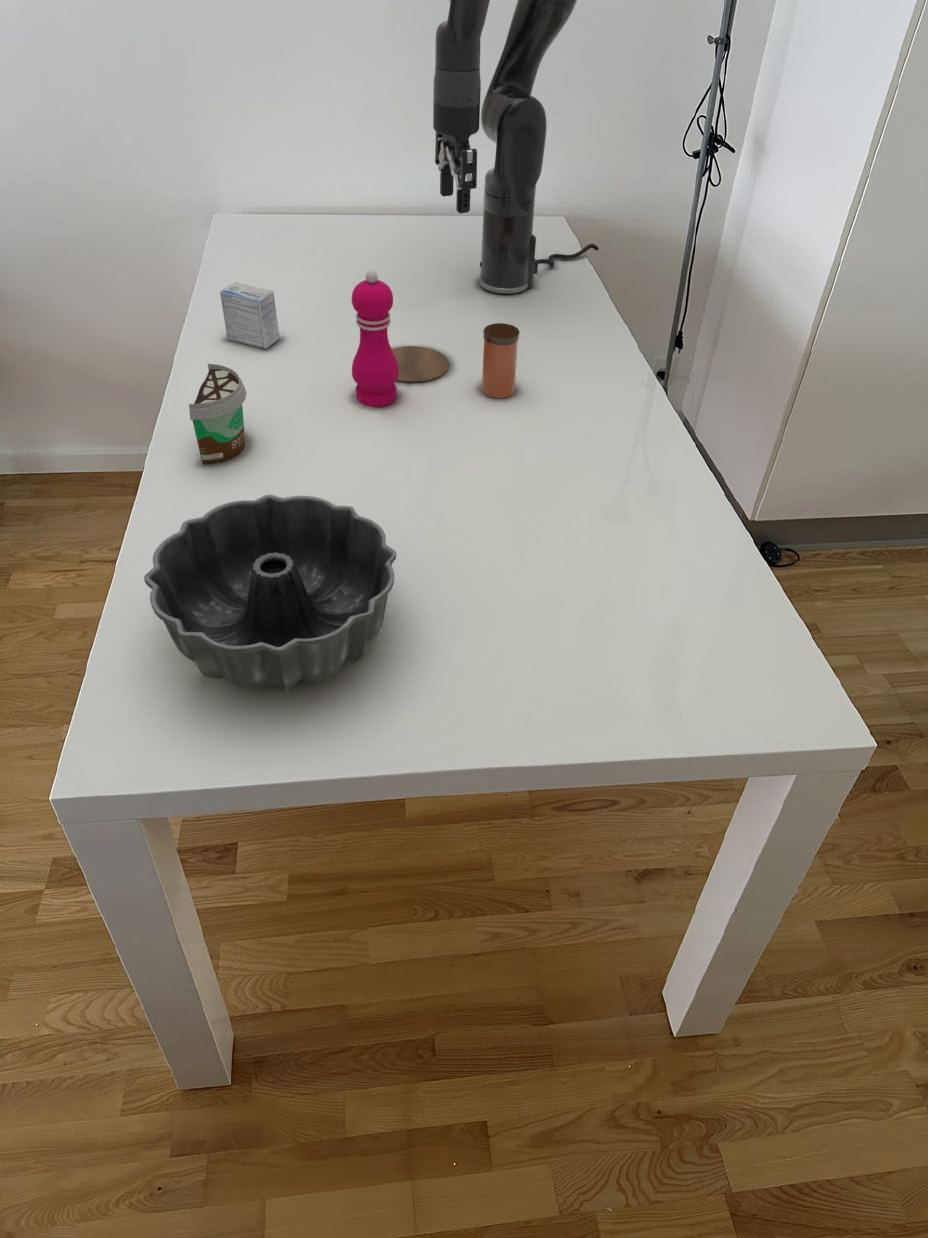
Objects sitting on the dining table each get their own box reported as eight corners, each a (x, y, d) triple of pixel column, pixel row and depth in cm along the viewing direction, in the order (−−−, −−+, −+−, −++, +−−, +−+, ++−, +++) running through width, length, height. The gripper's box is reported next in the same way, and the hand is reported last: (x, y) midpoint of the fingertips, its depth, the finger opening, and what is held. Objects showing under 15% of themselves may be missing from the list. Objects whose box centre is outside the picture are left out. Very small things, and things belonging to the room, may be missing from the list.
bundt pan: (219, 543, 116) (206, 477, 110) (422, 575, 113) (422, 509, 106) (120, 694, 97) (97, 625, 91) (360, 738, 94) (355, 670, 87)
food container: (244, 471, 128) (234, 407, 121) (200, 470, 128) (187, 406, 121) (260, 425, 137) (252, 363, 130) (219, 423, 137) (208, 361, 130)
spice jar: (506, 379, 150) (510, 320, 143) (520, 395, 146) (525, 336, 139) (475, 384, 148) (478, 325, 141) (488, 401, 144) (491, 341, 138)
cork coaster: (434, 343, 158) (434, 341, 158) (459, 376, 150) (459, 374, 150) (367, 354, 155) (366, 351, 154) (389, 387, 147) (389, 385, 146)
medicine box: (280, 339, 158) (274, 290, 152) (265, 350, 155) (259, 300, 149) (241, 329, 160) (234, 280, 154) (226, 340, 157) (218, 290, 151)
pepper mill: (406, 390, 146) (404, 265, 132) (388, 412, 141) (385, 284, 127) (364, 382, 148) (358, 257, 134) (345, 403, 143) (337, 276, 129)
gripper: (494, 108, 144) (489, 216, 155) (463, 85, 154) (461, 187, 165) (449, 112, 142) (447, 220, 153) (420, 88, 152) (421, 191, 163)
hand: (454, 203), depth 159 cm, fingers open, 8 cm apart
